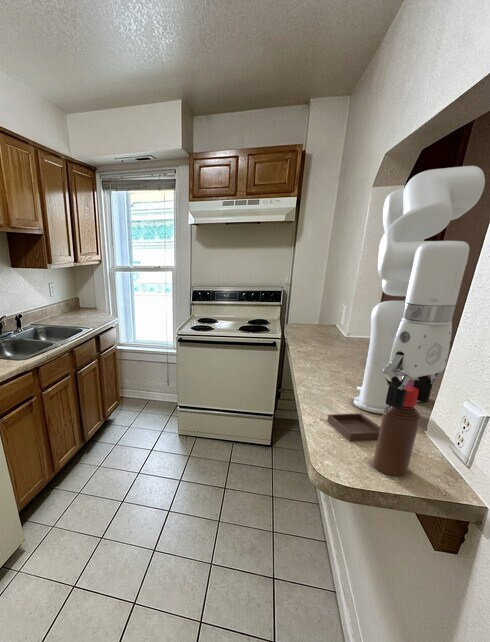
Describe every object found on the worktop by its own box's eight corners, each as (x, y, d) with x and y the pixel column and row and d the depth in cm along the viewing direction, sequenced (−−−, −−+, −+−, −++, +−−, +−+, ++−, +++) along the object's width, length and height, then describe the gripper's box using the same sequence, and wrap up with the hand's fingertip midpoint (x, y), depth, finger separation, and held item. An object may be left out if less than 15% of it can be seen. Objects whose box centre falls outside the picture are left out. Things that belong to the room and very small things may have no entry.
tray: (327, 421, 99) (328, 414, 99) (359, 419, 100) (360, 413, 99) (349, 440, 89) (350, 433, 88) (385, 438, 89) (387, 431, 88)
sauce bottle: (366, 460, 80) (381, 386, 74) (393, 459, 80) (410, 385, 74) (384, 477, 74) (402, 397, 68) (414, 475, 74) (434, 396, 68)
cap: (408, 408, 69) (412, 393, 68) (388, 402, 73) (391, 387, 71) (419, 404, 71) (423, 389, 70) (399, 398, 74) (402, 383, 73)
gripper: (414, 320, 58) (393, 418, 65) (480, 312, 64) (454, 402, 70) (374, 314, 65) (358, 403, 71) (437, 307, 71) (417, 390, 77)
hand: (406, 402), depth 71 cm, fingers open, 6 cm apart
